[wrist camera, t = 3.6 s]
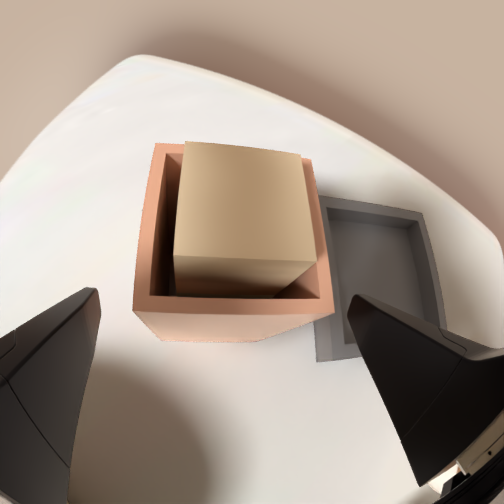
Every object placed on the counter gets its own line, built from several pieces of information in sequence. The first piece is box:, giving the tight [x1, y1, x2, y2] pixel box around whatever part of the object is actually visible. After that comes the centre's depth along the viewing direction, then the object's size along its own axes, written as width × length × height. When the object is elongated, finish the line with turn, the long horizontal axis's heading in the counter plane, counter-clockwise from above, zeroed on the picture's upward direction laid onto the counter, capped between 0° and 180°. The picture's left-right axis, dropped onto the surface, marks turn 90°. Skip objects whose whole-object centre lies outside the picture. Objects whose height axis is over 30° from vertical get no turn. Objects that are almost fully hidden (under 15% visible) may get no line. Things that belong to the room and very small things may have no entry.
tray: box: [314, 195, 447, 362], centre depth 22 cm, size 12×12×2 cm
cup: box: [132, 143, 335, 342], centre depth 15 cm, size 6×6×11 cm
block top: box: [173, 141, 317, 295], centre depth 10 cm, size 4×4×4 cm
